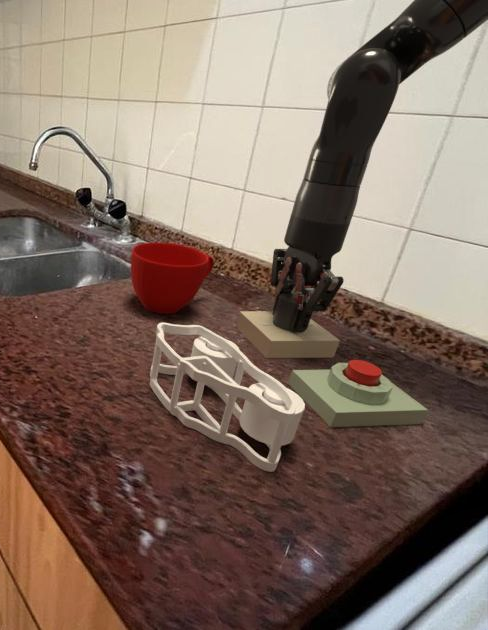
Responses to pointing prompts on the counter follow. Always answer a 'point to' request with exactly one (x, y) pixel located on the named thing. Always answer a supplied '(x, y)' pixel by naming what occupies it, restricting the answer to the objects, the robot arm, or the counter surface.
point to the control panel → (285, 337)
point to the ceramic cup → (168, 275)
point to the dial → (285, 310)
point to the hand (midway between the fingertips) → (287, 323)
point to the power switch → (355, 399)
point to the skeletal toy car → (228, 393)
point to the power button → (363, 373)
